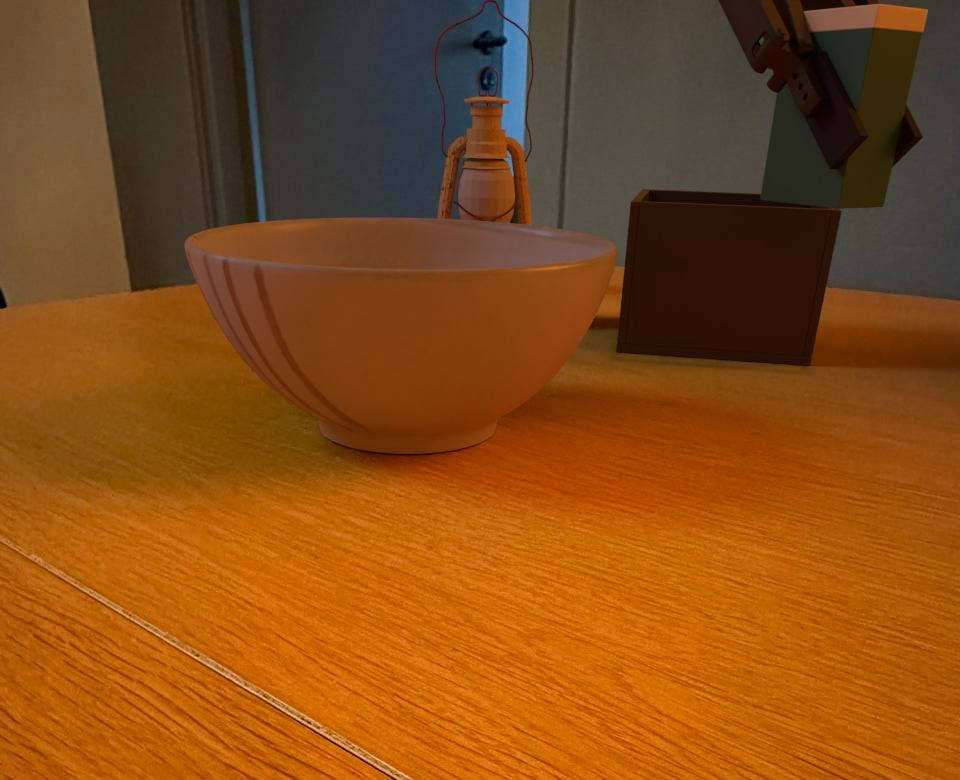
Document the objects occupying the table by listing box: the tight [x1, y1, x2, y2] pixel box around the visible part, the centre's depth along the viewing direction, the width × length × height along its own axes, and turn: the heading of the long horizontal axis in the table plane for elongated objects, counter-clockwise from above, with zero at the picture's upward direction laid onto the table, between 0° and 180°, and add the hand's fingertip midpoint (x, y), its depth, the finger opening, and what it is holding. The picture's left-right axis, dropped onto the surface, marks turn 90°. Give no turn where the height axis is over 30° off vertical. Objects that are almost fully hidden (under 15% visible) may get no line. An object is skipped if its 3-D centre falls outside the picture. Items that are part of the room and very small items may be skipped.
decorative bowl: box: [184, 217, 619, 455], centre depth 60 cm, size 27×27×12 cm
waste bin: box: [615, 188, 843, 367], centre depth 87 cm, size 18×18×13 cm
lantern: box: [433, 0, 535, 225], centre depth 105 cm, size 12×10×30 cm
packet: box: [760, 3, 929, 210], centre depth 59 cm, size 5×7×11 cm, turn 30°
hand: (876, 152), depth 58 cm, fingers closed on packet, 4 cm apart
